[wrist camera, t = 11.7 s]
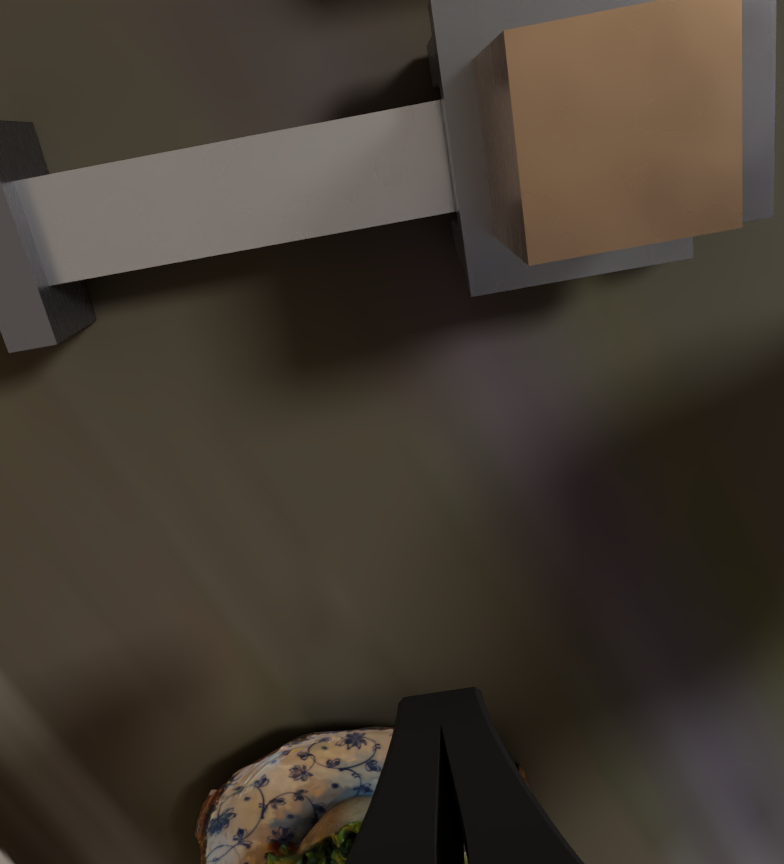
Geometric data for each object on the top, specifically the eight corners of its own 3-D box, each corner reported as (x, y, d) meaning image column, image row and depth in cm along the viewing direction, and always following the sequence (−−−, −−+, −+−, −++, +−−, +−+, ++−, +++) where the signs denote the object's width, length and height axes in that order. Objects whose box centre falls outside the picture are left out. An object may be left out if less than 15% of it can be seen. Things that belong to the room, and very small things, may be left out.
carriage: (638, -23, 17) (790, -120, 11) (650, 242, 19) (783, 291, 13) (422, 20, 17) (446, -51, 11) (459, 276, 19) (496, 340, 13)
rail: (722, -13, 17) (776, -37, 15) (724, 207, 19) (773, 216, 17) (-15, 131, 18) (-76, 129, 16) (53, 327, 20) (8, 352, 18)
